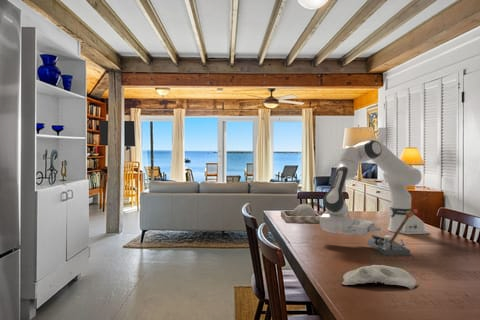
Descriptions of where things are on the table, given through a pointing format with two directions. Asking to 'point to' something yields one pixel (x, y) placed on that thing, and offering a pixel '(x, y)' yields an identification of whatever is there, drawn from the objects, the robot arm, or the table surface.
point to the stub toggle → (403, 244)
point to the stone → (380, 276)
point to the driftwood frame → (299, 218)
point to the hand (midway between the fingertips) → (380, 229)
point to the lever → (408, 215)
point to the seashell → (304, 210)
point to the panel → (388, 247)
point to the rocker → (377, 237)
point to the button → (388, 238)
